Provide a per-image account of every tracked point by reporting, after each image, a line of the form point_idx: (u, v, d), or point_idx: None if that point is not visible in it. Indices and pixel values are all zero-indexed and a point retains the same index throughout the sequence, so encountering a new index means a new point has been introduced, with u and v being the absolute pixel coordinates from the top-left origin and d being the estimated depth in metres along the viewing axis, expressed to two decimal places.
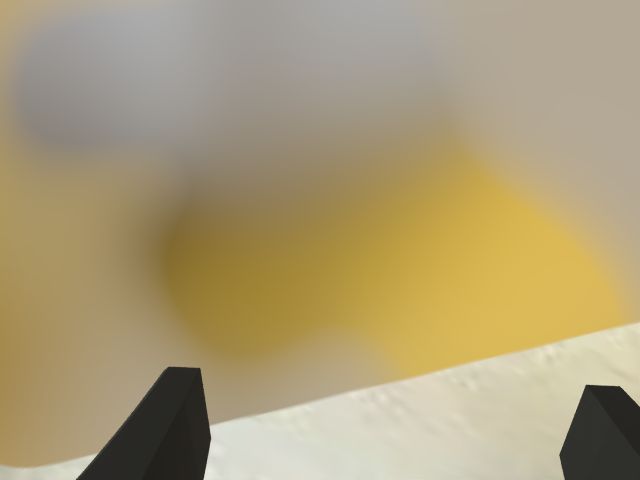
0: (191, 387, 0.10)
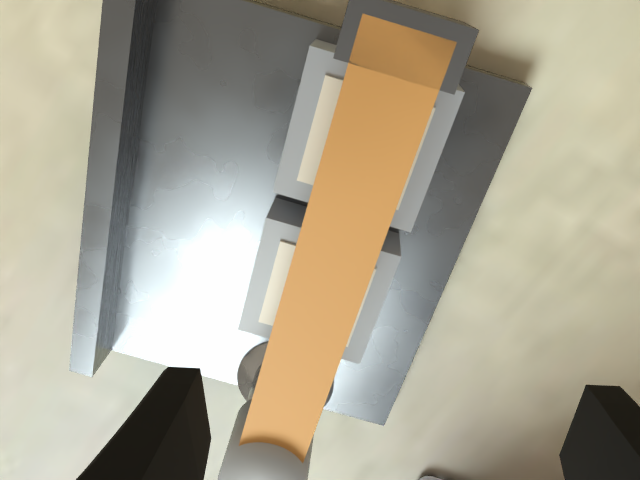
0: (191, 387, 0.10)
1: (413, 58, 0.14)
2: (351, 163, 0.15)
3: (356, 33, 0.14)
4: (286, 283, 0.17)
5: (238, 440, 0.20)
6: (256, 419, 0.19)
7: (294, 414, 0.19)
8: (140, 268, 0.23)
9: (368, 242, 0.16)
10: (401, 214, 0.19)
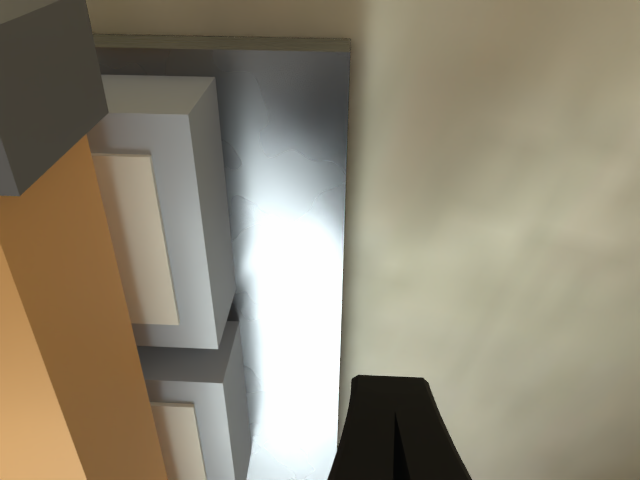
0: (392, 396, 0.10)
1: None
2: None
3: None
4: None
5: None
6: None
7: None
8: None
9: (55, 466, 0.08)
10: (189, 328, 0.11)
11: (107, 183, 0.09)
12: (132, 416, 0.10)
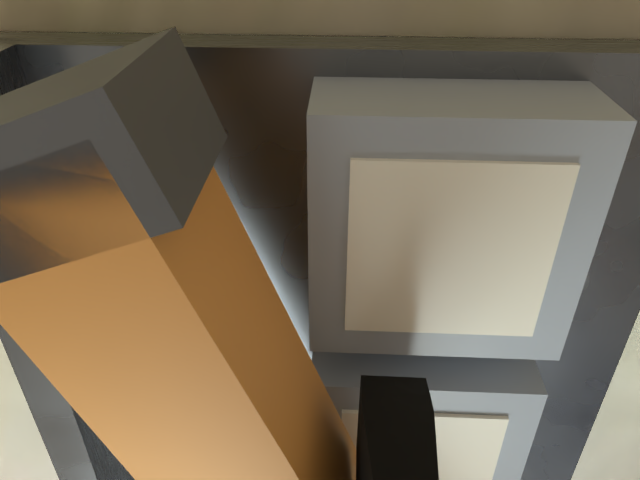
0: (430, 398, 0.10)
1: (52, 218, 0.06)
2: (140, 414, 0.08)
3: None
4: None
5: None
6: None
7: None
8: None
9: None
10: (538, 340, 0.11)
11: (522, 191, 0.09)
12: (328, 429, 0.10)
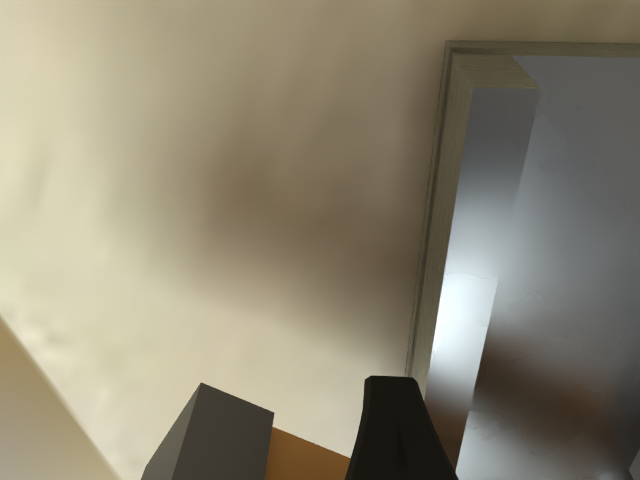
0: (406, 397, 0.10)
1: None
2: None
3: None
4: None
5: None
6: None
7: None
8: (462, 458, 0.16)
9: None
10: None
11: None
12: None
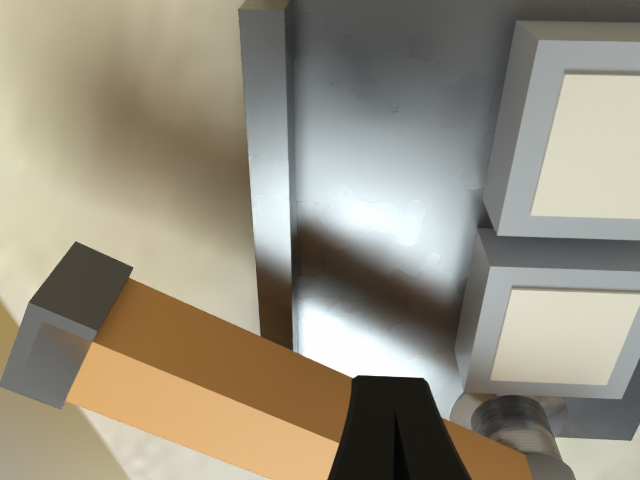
0: (392, 396, 0.10)
1: (59, 355, 0.13)
2: (167, 418, 0.14)
3: (40, 386, 0.14)
4: None
5: None
6: None
7: None
8: (320, 339, 0.20)
9: (260, 423, 0.14)
10: None
11: None
12: (305, 377, 0.16)
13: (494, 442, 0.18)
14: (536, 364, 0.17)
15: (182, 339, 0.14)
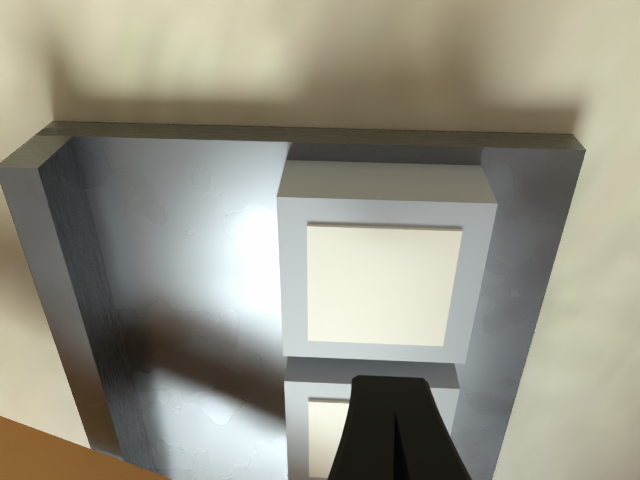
0: (392, 396, 0.10)
1: None
2: None
3: None
4: None
5: None
6: None
7: None
8: (165, 426, 0.20)
9: None
10: (448, 348, 0.15)
11: (425, 248, 0.13)
12: None
13: None
14: None
15: None
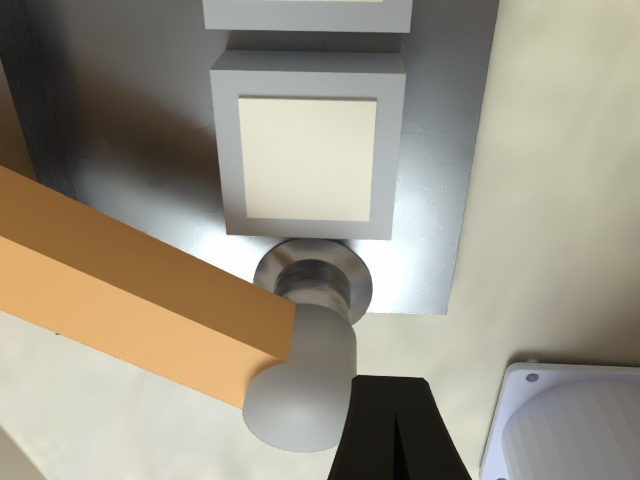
0: (392, 396, 0.10)
1: None
2: None
3: None
4: (11, 312, 0.15)
5: None
6: (209, 387, 0.16)
7: (203, 351, 0.15)
8: (98, 194, 0.19)
9: None
10: (389, 9, 0.13)
11: None
12: (21, 194, 0.15)
13: (260, 288, 0.17)
14: (289, 195, 0.16)
15: None
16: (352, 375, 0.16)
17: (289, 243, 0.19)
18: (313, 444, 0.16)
